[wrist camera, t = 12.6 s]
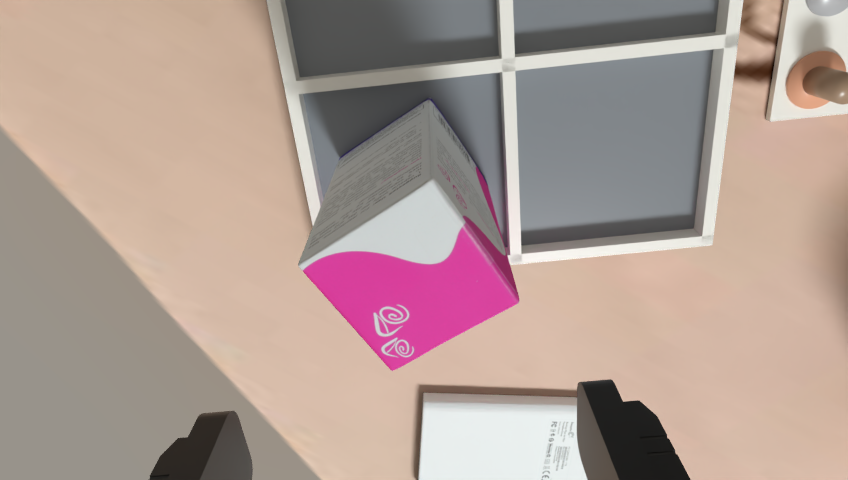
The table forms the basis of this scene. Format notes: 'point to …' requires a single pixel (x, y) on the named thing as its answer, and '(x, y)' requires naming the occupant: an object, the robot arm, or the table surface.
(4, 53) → the table surface
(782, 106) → the tile
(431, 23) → the socket board
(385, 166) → the supplement box
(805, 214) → the table surface
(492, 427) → the external hard drive
